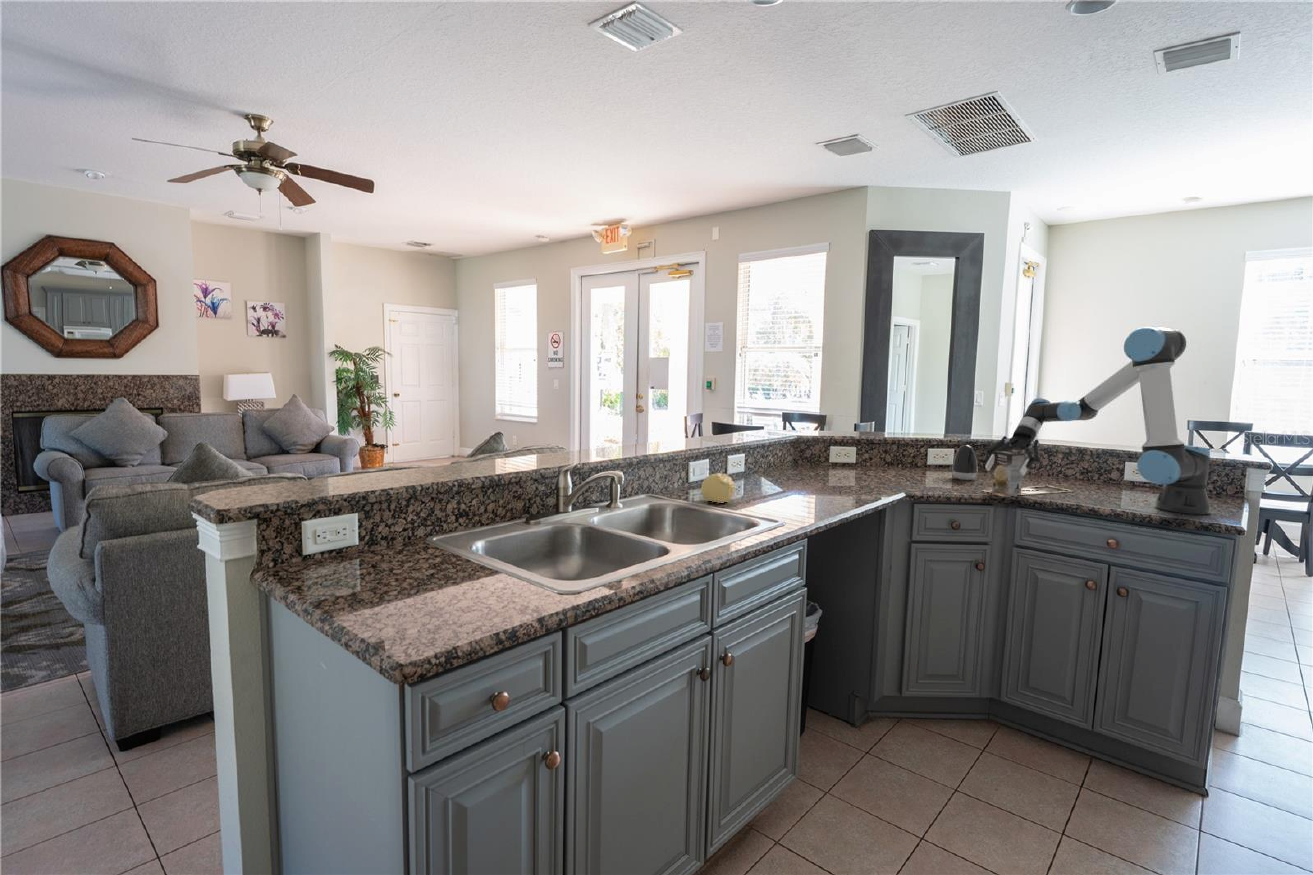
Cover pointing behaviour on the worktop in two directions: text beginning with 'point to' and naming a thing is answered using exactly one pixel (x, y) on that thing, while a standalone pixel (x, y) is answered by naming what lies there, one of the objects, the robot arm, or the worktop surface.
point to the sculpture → (718, 488)
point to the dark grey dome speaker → (965, 463)
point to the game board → (1028, 491)
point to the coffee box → (1007, 472)
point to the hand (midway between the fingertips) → (1003, 471)
